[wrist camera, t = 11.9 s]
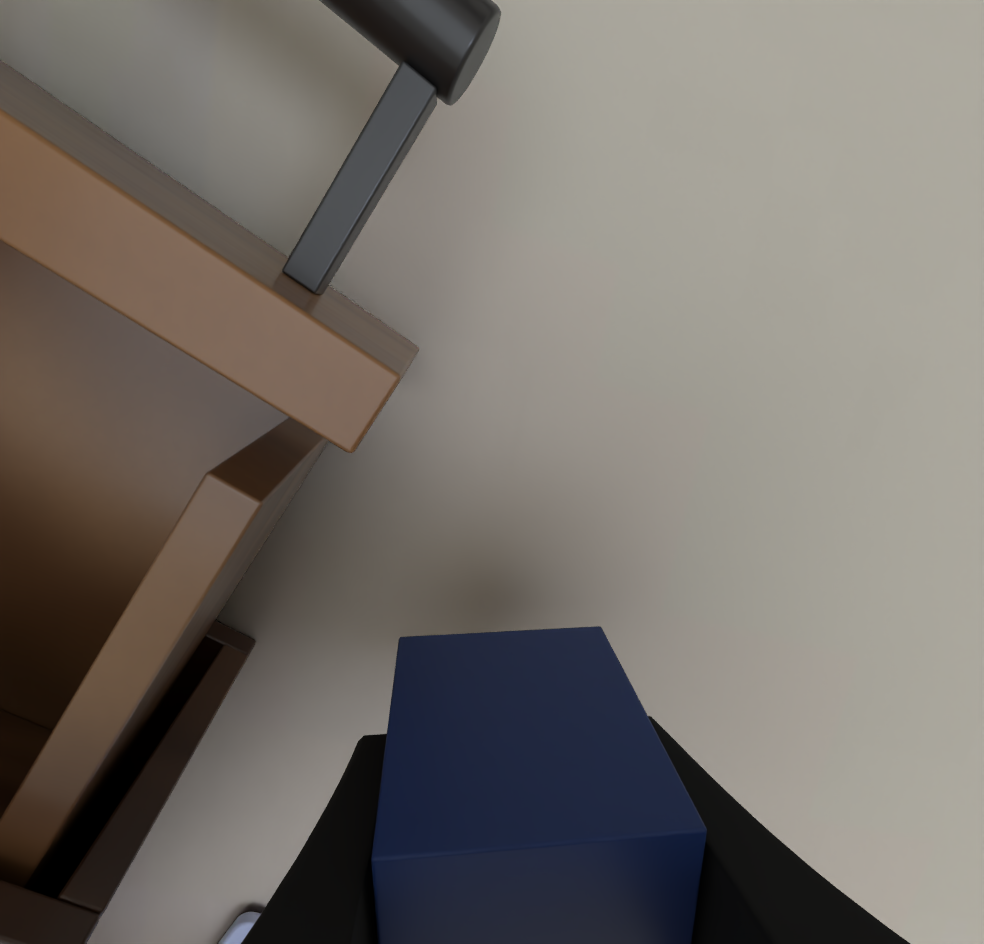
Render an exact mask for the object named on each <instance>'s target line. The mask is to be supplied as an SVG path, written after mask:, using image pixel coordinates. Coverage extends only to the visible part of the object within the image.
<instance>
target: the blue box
mask: <svg viewBox="0 0 984 944" xmlns="http://www.w3.org/2000/svg"><path fill="white" fill-rule="evenodd" d="M706 834H707V829H706V827H705V825H704V823H703V821H702V819H701V817H700V815H699V813H698V811H697V809H696V808H695V806H694V804H693V802H692V800H691V798H690V796H689V794H688V792H687V790H686V788H685V786H684V785H683V783H682V781H681V779H680V777H679V775H678V773H677V771H676V769H675V767H674V765H673V764H672V762H671V760H670V758H669V756H668V754H667V752H666V750H665V748H664V746H663V744H662V743H661V741H660V739H659V737H658V735H657V733H656V731H655V729H654V727H653V725H652V723H651V721H650V720H649V718H648V716H647V714H646V712H645V710H644V708H643V706H642V704H641V702H640V700H639V699H638V697H637V695H636V693H635V691H634V689H633V687H632V685H631V683H630V681H629V679H628V677H627V676H626V674H625V672H624V670H623V668H622V666H621V664H620V662H619V660H618V658H617V656H616V655H615V653H614V651H613V649H612V647H611V645H610V643H609V641H608V639H607V637H606V635H605V634H604V632H603V630H602V628H601V627H599V626H598V627H579V628H560V629H542V630H523V631H504V632H485V633H466V634H447V635H429V636H410V637H400V638H399V642H398V650H397V658H396V666H395V674H394V682H393V690H392V698H391V706H390V714H389V721H388V729H387V737H386V745H385V753H384V761H383V769H382V777H381V785H380V793H379V801H378V809H377V817H376V825H375V833H374V841H373V849H372V857H371V863H372V876H373V888H374V900H375V913H376V925H377V937H378V944H691V942H692V935H693V927H694V920H695V913H696V906H697V899H698V892H699V885H700V877H701V870H702V863H703V856H704V849H705V842H706Z"/></svg>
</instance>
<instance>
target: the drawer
mask: <svg viewBox="0 0 984 944" xmlns="http://www.w3.org/2000/svg"><path fill="white" fill-rule="evenodd" d="M320 1H321V2H322V3H323V4H324V5H326V6H327V7H328V8H329V9H330V10H332V11H333V12H334V13H335V14H337V15H338V16H339V17H340V18H341V19H343V20H344V21H345V22H346V23H348V24H349V25H350V26H351V27H352V28H354V29H355V30H356V31H357V32H359V33H360V34H361V35H362V36H363V37H365V38H366V39H367V40H368V41H369V42H371V43H372V44H373V45H374V46H376V47H377V48H378V49H379V50H380V51H382V52H383V53H384V54H385V55H387V56H388V57H389V58H390V59H391V60H393V61H394V62H395V63H396V64H398V65H399V67H398V69H397V71H396V73H395V74H394V76H393V78H392V80H391V81H390V83H389V85H388V86H387V88H386V90H385V92H384V93H383V95H382V97H381V99H380V100H379V102H378V104H377V106H376V107H375V109H374V111H373V112H372V114H371V116H370V118H369V119H368V121H367V123H366V125H365V126H364V128H363V130H362V132H361V133H360V135H359V137H358V138H357V140H356V142H355V144H354V145H353V147H352V149H351V151H350V152H349V154H348V156H347V158H346V159H345V161H344V163H343V164H342V166H341V168H340V170H339V171H338V173H337V175H336V177H335V178H334V180H333V182H332V184H331V185H330V187H329V189H328V190H327V192H326V194H325V196H324V197H323V199H322V201H321V203H320V204H319V206H318V208H317V210H316V211H315V213H314V215H313V216H312V218H311V220H310V222H309V223H308V225H307V227H306V229H305V230H304V232H303V234H302V236H301V237H300V239H299V241H298V242H297V244H296V246H295V248H294V249H293V251H292V253H291V255H290V256H289V258H288V257H286V256H285V255H283V254H282V253H280V252H279V251H278V250H276V249H275V248H273V247H272V246H270V245H269V244H267V243H266V242H264V241H263V240H262V239H260V238H259V237H257V236H256V235H254V234H253V233H251V232H250V231H248V230H247V229H246V228H244V227H243V226H241V225H240V224H238V223H237V222H235V221H234V220H232V219H231V218H229V217H228V216H227V215H225V214H224V213H222V212H221V211H219V210H218V209H216V208H215V207H213V206H212V205H211V204H209V203H208V202H206V201H205V200H203V199H202V198H200V197H199V196H197V195H196V194H195V193H193V192H192V191H190V190H189V189H187V188H186V187H184V186H183V185H181V184H180V183H179V182H177V181H176V180H174V179H173V178H171V177H170V176H168V175H167V174H165V173H164V172H162V171H161V170H160V169H158V168H157V167H155V166H154V165H152V164H151V163H149V162H148V161H146V160H145V159H144V158H142V157H141V156H139V155H138V154H136V153H135V152H133V151H132V150H130V149H129V148H128V147H126V146H125V145H123V144H122V143H120V142H119V141H117V140H116V139H114V138H113V137H111V136H110V135H109V134H107V133H106V132H104V131H103V130H101V129H100V128H98V127H97V126H95V125H94V124H93V123H91V122H90V121H88V120H87V119H85V118H84V117H82V116H81V115H79V114H78V113H77V112H75V111H74V110H72V109H71V108H69V107H68V106H66V105H65V104H63V103H62V102H61V101H59V100H58V99H56V98H55V97H53V96H52V95H50V94H49V93H47V92H46V91H44V90H43V89H42V88H40V87H39V86H37V85H36V84H34V83H33V82H31V81H30V80H28V79H27V78H26V77H24V76H23V75H21V74H20V73H18V72H17V71H15V70H14V69H12V68H11V67H10V66H8V65H7V64H5V63H4V62H2V61H1V60H0V880H2V881H5V882H8V883H11V884H14V885H17V886H20V887H23V888H26V889H29V890H31V891H34V889H35V888H36V886H37V885H38V884H39V882H40V881H41V879H42V878H43V877H44V875H45V874H46V872H47V871H48V870H49V868H50V867H51V865H52V864H53V862H54V861H55V860H56V858H57V857H58V855H59V854H60V853H61V851H62V850H63V848H64V847H65V845H66V844H67V843H68V841H69V840H70V838H71V837H72V836H73V834H74V833H75V831H76V830H77V829H78V827H79V826H80V824H81V823H82V821H83V820H84V819H85V817H86V816H87V814H88V813H89V812H90V810H91V809H92V807H93V806H94V805H95V803H96V802H97V800H98V799H99V797H100V796H101V795H102V793H103V792H104V790H105V789H106V788H107V786H108V785H109V783H110V782H111V780H112V779H113V778H114V776H115V775H116V773H117V772H118V771H119V769H120V768H121V766H122V765H123V764H124V762H125V761H126V759H127V758H128V756H129V755H130V753H131V752H132V750H133V748H134V747H135V745H136V744H137V742H138V741H139V739H140V737H141V736H142V734H143V733H144V731H145V730H146V728H147V726H148V725H149V723H150V722H151V720H152V719H153V717H154V715H155V714H156V712H157V711H158V709H159V708H160V706H161V704H162V703H163V701H164V700H165V698H166V697H167V695H168V693H169V692H170V690H171V689H172V687H173V685H174V684H175V682H176V681H177V679H178V678H179V676H180V674H181V673H182V671H183V670H184V668H185V667H186V665H187V663H188V662H189V660H190V659H191V657H192V656H193V654H194V652H195V651H196V649H197V648H198V646H199V645H200V643H201V641H202V640H203V638H204V637H205V635H206V634H207V632H208V630H209V629H210V627H211V626H212V624H213V623H214V621H215V619H216V618H217V616H218V615H219V613H220V612H221V610H222V608H223V607H224V605H225V604H226V602H227V600H228V599H229V597H230V596H231V594H232V593H233V591H234V589H235V588H236V586H237V585H238V583H239V582H240V580H241V578H242V577H243V575H244V574H245V572H246V571H247V569H248V567H249V566H250V564H251V563H252V561H253V560H254V558H255V556H256V555H257V553H258V552H259V550H260V549H261V547H262V545H263V544H264V542H265V541H266V539H267V538H268V536H269V534H270V533H271V531H272V530H273V528H274V526H275V525H276V523H277V522H278V520H279V519H280V517H281V515H282V514H283V512H284V511H285V509H286V508H287V506H288V504H289V503H290V501H291V500H292V498H293V497H294V495H295V493H296V492H297V490H298V489H299V487H300V486H301V484H302V482H303V481H304V479H305V478H306V476H307V475H308V473H309V471H310V470H311V468H312V467H313V465H314V464H315V462H316V460H317V459H318V457H319V456H320V454H321V453H322V451H323V449H324V448H325V446H326V445H327V443H328V441H330V442H331V443H333V444H334V445H336V446H338V447H339V448H341V449H343V450H344V451H346V452H348V453H352V452H354V451H355V450H356V448H357V447H358V445H359V444H360V442H361V441H362V439H363V438H364V436H365V434H366V433H367V431H368V430H369V428H370V427H371V425H372V424H373V422H374V421H375V419H376V417H377V416H378V414H379V413H380V411H381V410H382V408H383V407H384V405H385V404H386V402H387V401H388V399H389V397H390V396H391V394H392V393H393V391H394V390H395V388H396V387H397V385H398V384H399V382H400V380H401V379H402V377H403V376H404V374H405V372H406V371H407V369H408V367H409V366H410V364H411V363H412V361H413V359H414V358H415V356H416V355H417V353H418V351H419V348H418V347H417V346H416V345H415V344H413V343H412V342H410V341H409V340H407V339H406V338H404V337H403V336H401V335H400V334H398V333H397V332H396V331H394V330H393V329H391V328H390V327H388V326H387V325H385V324H384V323H382V322H381V321H380V320H378V319H377V318H375V317H374V316H372V315H371V314H369V313H368V312H366V311H365V310H364V309H362V308H361V307H359V306H358V305H356V304H355V303H353V302H352V301H350V300H349V299H348V298H346V297H345V296H343V295H342V294H340V293H339V292H337V291H336V290H334V289H333V288H331V287H330V286H329V284H330V282H331V280H332V279H333V277H334V275H335V273H336V272H337V270H338V268H339V267H340V265H341V263H342V262H343V260H344V258H345V257H346V255H347V253H348V252H349V250H350V248H351V247H352V245H353V243H354V242H355V240H356V238H357V237H358V235H359V233H360V232H361V230H362V228H363V227H364V225H365V223H366V222H367V220H368V218H369V217H370V215H371V213H372V212H373V210H374V208H375V207H376V205H377V203H378V202H379V200H380V198H381V197H382V195H383V193H384V192H385V190H386V188H387V187H388V185H389V183H390V181H391V180H392V178H393V176H394V175H395V173H396V171H397V170H398V168H399V166H400V165H401V163H402V161H403V160H404V158H405V156H406V155H407V153H408V151H409V150H410V148H411V146H412V145H413V143H414V141H415V140H416V138H417V136H418V135H419V133H420V131H421V130H422V128H423V126H424V125H425V123H426V121H427V120H428V118H429V116H430V115H431V113H432V111H433V110H434V108H435V106H436V104H437V97H438V98H439V99H440V100H441V101H443V102H444V103H445V104H447V105H450V106H451V105H453V104H454V103H455V102H456V101H457V100H458V99H459V98H460V97H461V96H462V95H463V93H464V92H465V90H466V89H467V87H468V86H469V84H470V83H471V81H472V80H473V78H474V76H475V75H476V73H477V71H478V69H479V67H480V66H481V64H482V62H483V60H484V58H485V56H486V54H487V52H488V50H489V48H490V46H491V43H492V41H493V39H494V36H495V34H496V31H497V28H498V25H499V21H500V16H501V11H500V9H499V7H498V6H497V5H496V4H495V3H494V2H493V1H492V0H320Z"/></svg>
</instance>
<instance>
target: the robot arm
mask: <svg viewBox="0 0 984 944" xmlns="http://www.w3.org/2000/svg"><path fill="white" fill-rule="evenodd" d="M648 718H649V720H650V721H651V723H652V725H653V727H654V729H655V731H656V733H657V735H658V737H659V739H660V741H661V743H662V744H663V746H664V748H665V750H666V752H667V754H668V756H669V758H670V760H671V762H672V764H673V765H674V767H675V769H676V771H677V773H678V775H679V777H680V779H681V781H682V783H683V785H684V786H685V788H686V790H687V792H688V794H689V796H690V798H691V800H692V802H693V804H694V806H695V808H696V809H697V811H698V813H699V815H700V817H701V819H702V821H703V823H704V825H705V827H706V829H707V834H706V842H705V849H704V856H703V863H702V870H701V877H700V885H699V892H698V899H697V906H696V913H695V920H694V927H693V935H692V942H691V944H910V943H909V942H907V941H906V940H904V939H903V938H902V937H900V936H899V935H898V934H896V933H895V932H893V931H892V930H891V929H889V928H888V927H887V926H885V925H884V924H883V923H881V922H880V921H879V920H877V919H876V918H875V917H874V916H872V915H871V914H870V913H868V912H867V911H866V910H864V909H863V908H862V907H861V906H859V905H858V904H857V903H855V902H854V901H853V900H851V899H850V898H849V897H848V896H846V895H845V894H844V893H842V892H841V891H840V890H838V889H837V888H836V887H835V886H833V885H832V884H831V883H830V882H828V881H827V880H826V879H825V878H823V877H822V876H821V875H820V874H819V873H817V872H816V871H815V870H814V869H812V868H811V867H810V866H809V865H808V864H807V863H805V862H804V861H803V860H802V859H801V858H800V857H798V856H797V855H796V854H795V853H794V852H793V851H791V850H790V849H789V848H788V847H787V846H786V845H784V844H783V843H782V842H781V841H780V840H779V839H777V838H776V837H775V836H774V835H773V834H772V833H771V832H769V831H768V830H767V829H766V828H765V827H764V826H763V825H762V824H761V823H759V822H758V821H757V820H756V819H755V818H754V817H753V816H752V815H751V814H750V813H749V812H748V811H747V810H746V809H744V808H743V807H742V806H741V805H740V804H739V803H738V802H737V801H736V800H735V799H734V798H733V797H732V796H731V795H730V794H729V793H727V792H726V791H725V790H724V789H723V788H722V787H721V786H720V785H719V784H718V783H717V782H716V781H715V780H714V779H713V778H712V777H711V776H710V775H709V774H708V773H707V772H706V771H705V770H704V769H703V768H702V767H701V766H700V765H699V764H698V763H697V762H696V761H695V760H694V759H693V758H692V757H691V756H690V755H689V754H688V753H687V752H686V751H685V750H684V749H683V748H682V747H681V746H680V745H679V744H678V743H677V742H676V741H675V740H674V739H673V738H672V737H671V736H670V735H669V734H668V733H667V732H666V731H665V730H664V729H663V728H662V727H661V726H660V725H659V724H658V723H657V722H656V721H655V720H654V719H653V718H652V717H651V716H648ZM386 737H387V734H380V735H365V736H363V737H362V738H361V739H360V740H359V741H358V743H357V745H356V748H355V750H354V752H353V755H352V757H351V759H350V761H349V763H348V766H347V768H346V770H345V772H344V774H343V776H342V778H341V780H340V782H339V784H338V786H337V788H336V790H335V792H334V793H333V795H332V797H331V799H330V801H329V803H328V805H327V807H326V808H325V810H324V812H323V814H322V815H321V817H320V819H319V821H318V822H317V824H316V826H315V828H314V829H313V831H312V833H311V835H310V836H309V838H308V840H307V842H306V843H305V845H304V847H303V849H302V850H301V852H300V854H299V855H298V857H297V859H296V860H295V862H294V863H293V865H292V866H291V868H290V870H289V871H288V873H287V874H286V876H285V877H284V879H283V881H282V882H281V884H280V885H279V887H278V888H277V890H276V892H275V893H274V895H273V896H272V898H271V899H270V901H269V903H268V904H267V906H266V907H265V909H264V910H263V912H262V913H261V914H260V913H257V912H246V913H244V914H241V915H240V916H239V917H238V918H237V919H236V920H235V921H234V923H233V924H232V925H231V927H230V928H229V929H228V931H227V932H226V933H225V935H224V936H223V937H222V939H221V940H220V942H219V943H218V944H378V937H377V925H376V913H375V900H374V888H373V876H372V863H371V857H372V849H373V841H374V833H375V825H376V817H377V809H378V801H379V793H380V785H381V777H382V769H383V761H384V753H385V745H386Z"/></svg>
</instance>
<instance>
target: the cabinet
mask: <svg viewBox="0 0 984 944" xmlns="http://www.w3.org/2000/svg"><path fill="white" fill-rule="evenodd" d="M254 645H255V640H253V639H251V638H249V637H247V636H245V635H243V634H241V633H239V632H237V631H235V630H233V629H231V628H229V627H227V626H225V625H223V624H221V623H219V622H217V621H214V623H213V624H212V626H211V627H210V629H209V630H208V632H207V634H206V635H205V637H204V638H203V640H202V641H201V643H200V645H199V646H198V648H197V649H196V651H195V652H194V654H193V656H192V657H191V659H190V660H189V662H188V663H187V665H186V667H185V668H184V670H183V671H182V673H181V674H180V676H179V678H178V679H177V681H176V682H175V684H174V685H173V687H172V689H171V690H170V692H169V693H168V695H167V697H166V698H165V700H164V701H163V703H162V704H161V706H160V708H159V709H158V711H157V712H156V714H155V715H154V717H153V719H152V720H151V722H150V723H149V725H148V726H147V728H146V730H145V731H144V733H143V734H142V736H141V737H140V739H139V741H138V742H137V744H136V745H135V747H134V748H133V750H132V752H131V753H130V755H129V756H128V758H127V759H126V761H125V762H124V764H123V765H122V766H121V768H120V769H119V771H118V772H117V773H116V775H115V776H114V778H113V779H112V780H111V782H110V783H109V785H108V786H107V788H106V789H105V790H104V792H103V793H102V795H101V796H100V797H99V799H98V800H97V802H96V803H95V805H94V806H93V807H92V809H91V810H90V812H89V813H88V814H87V816H86V817H85V819H84V820H83V821H82V823H81V824H80V826H79V827H78V829H77V830H76V831H75V833H74V834H73V836H72V837H71V838H70V840H69V841H68V843H67V844H66V845H65V847H64V848H63V850H62V851H61V853H60V854H59V855H58V857H57V858H56V860H55V861H54V862H53V864H52V865H51V867H50V868H49V870H48V871H47V872H46V874H45V875H44V877H43V878H42V879H41V881H40V882H39V884H38V885H37V886H36V888H35V889H34V891H31V890H29V889H26V888H23V887H20V886H17V885H14V884H11V883H8V882H5V881H2V880H0V944H86V943H87V941H88V939H89V938H90V936H91V934H92V932H93V931H94V929H95V927H96V925H97V923H98V921H99V919H100V917H101V916H102V914H103V913H104V911H105V910H106V908H107V906H108V904H109V902H110V901H111V899H112V897H113V895H114V894H115V892H116V890H117V888H118V887H119V885H120V883H121V881H122V879H123V878H124V876H125V874H126V872H127V871H128V869H129V867H130V865H131V863H132V862H133V860H134V858H135V856H136V855H137V853H138V851H139V849H140V848H141V846H142V844H143V842H144V840H145V839H146V837H147V835H148V833H149V832H150V830H151V828H152V826H153V824H154V823H155V821H156V819H157V817H158V816H159V814H160V812H161V810H162V809H163V807H164V805H165V803H166V801H167V800H168V798H169V796H170V794H171V793H172V791H173V789H174V787H175V785H176V784H177V782H178V780H179V778H180V777H181V775H182V773H183V771H184V769H185V768H186V766H187V764H188V762H189V761H190V759H191V757H192V755H193V754H194V752H195V750H196V748H197V746H198V745H199V743H200V741H201V739H202V738H203V736H204V734H205V732H206V730H207V729H208V727H209V725H210V723H211V722H212V720H213V718H214V716H215V715H216V713H217V711H218V709H219V707H220V706H221V704H222V702H223V700H224V699H225V697H226V695H227V693H228V691H229V690H230V688H231V686H232V684H233V683H234V681H235V679H236V677H237V675H238V674H239V672H240V670H241V668H242V667H243V665H244V663H245V661H246V660H247V658H248V656H249V654H250V652H251V651H252V649H253V647H254Z"/></svg>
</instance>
